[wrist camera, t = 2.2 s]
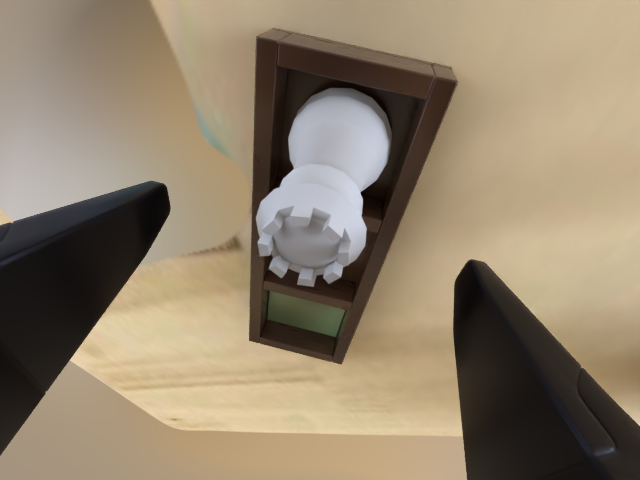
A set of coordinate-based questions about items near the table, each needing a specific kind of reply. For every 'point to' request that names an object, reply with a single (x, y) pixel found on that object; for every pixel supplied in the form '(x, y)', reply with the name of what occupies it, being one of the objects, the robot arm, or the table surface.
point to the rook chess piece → (325, 186)
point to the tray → (378, 199)
